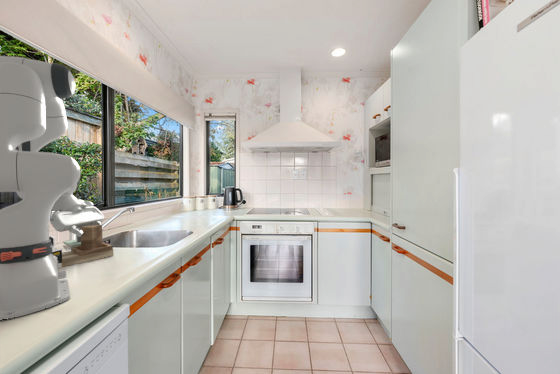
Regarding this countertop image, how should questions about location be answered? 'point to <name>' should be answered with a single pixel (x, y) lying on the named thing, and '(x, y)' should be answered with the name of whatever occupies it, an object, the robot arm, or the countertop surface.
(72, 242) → the cover
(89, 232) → the block
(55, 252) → the medicine bottle
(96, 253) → the puzzle board
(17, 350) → the countertop surface
